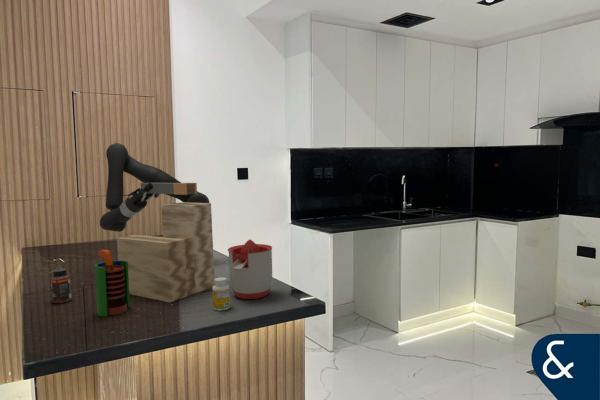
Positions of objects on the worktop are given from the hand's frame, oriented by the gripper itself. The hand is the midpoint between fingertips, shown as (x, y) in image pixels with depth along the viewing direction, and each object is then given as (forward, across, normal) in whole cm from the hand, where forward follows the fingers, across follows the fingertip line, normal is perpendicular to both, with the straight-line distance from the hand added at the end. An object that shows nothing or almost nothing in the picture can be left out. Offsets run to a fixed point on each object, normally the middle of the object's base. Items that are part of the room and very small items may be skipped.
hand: (156, 184), depth 176 cm
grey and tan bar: (+4, 0, +6) cm, 7 cm away
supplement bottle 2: (+19, -13, +56) cm, 61 cm away
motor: (-7, -32, +41) cm, 53 cm away
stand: (-10, -6, +39) cm, 41 cm away
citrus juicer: (+19, +2, +56) cm, 59 cm away
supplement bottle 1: (-30, -34, +28) cm, 53 cm away
